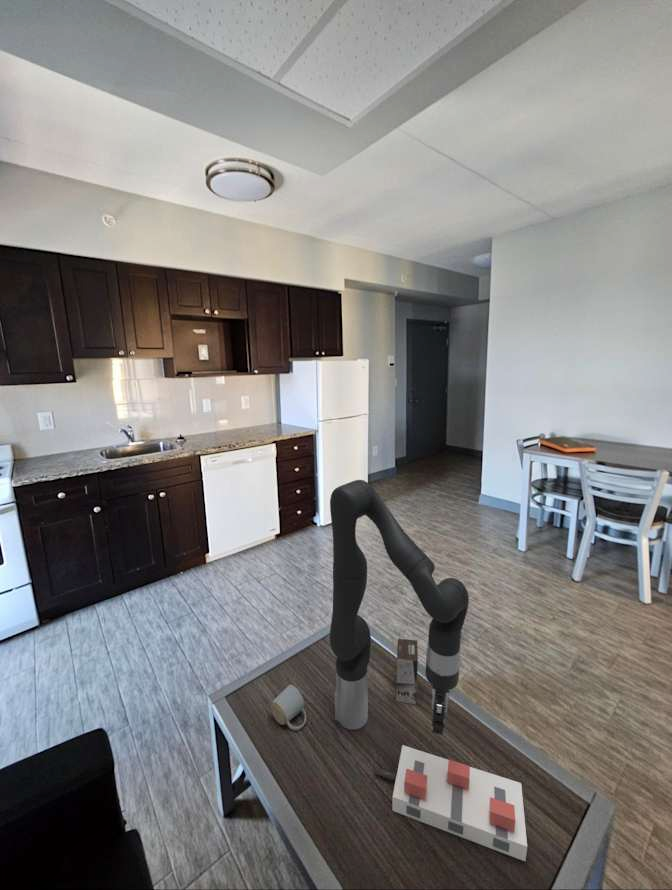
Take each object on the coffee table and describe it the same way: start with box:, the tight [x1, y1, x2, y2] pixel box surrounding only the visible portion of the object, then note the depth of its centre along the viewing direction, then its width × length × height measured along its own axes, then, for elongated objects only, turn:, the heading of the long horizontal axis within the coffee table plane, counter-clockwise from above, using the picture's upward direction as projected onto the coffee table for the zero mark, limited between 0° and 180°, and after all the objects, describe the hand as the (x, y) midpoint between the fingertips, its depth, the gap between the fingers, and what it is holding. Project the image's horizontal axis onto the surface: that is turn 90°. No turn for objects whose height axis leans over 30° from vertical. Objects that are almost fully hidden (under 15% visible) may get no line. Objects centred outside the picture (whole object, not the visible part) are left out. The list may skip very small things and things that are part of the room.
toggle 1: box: [404, 769, 427, 800], centre depth 92 cm, size 5×3×4 cm, turn 70°
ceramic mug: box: [270, 684, 307, 731], centre depth 116 cm, size 11×8×8 cm
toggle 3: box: [489, 797, 515, 832], centre depth 85 cm, size 5×3×4 cm, turn 70°
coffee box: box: [396, 638, 419, 705], centre depth 123 cm, size 9×6×16 cm
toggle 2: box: [447, 759, 471, 790], centre depth 94 cm, size 5×3×4 cm, turn 70°
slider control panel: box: [373, 744, 528, 862], centre depth 94 cm, size 35×13×5 cm, turn 70°
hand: (439, 716), depth 93 cm, fingers open, 8 cm apart
